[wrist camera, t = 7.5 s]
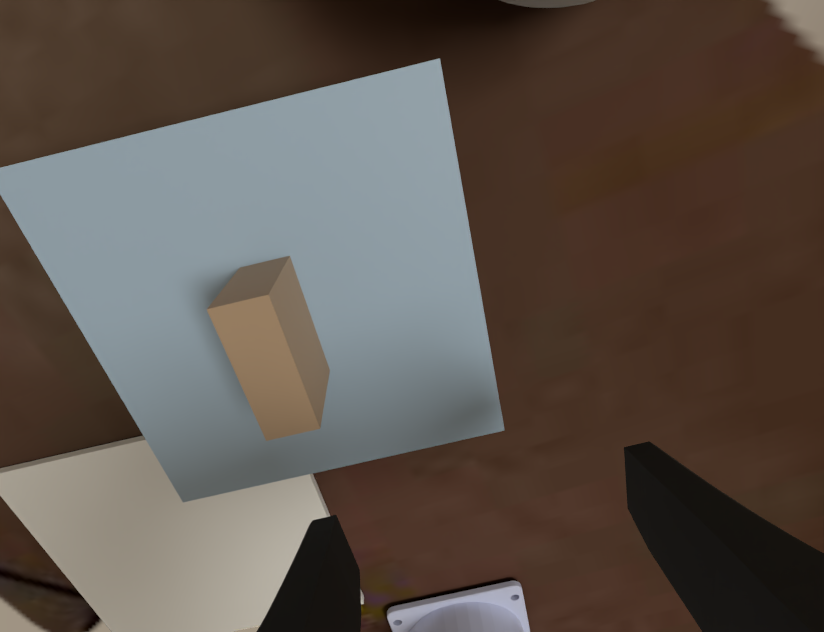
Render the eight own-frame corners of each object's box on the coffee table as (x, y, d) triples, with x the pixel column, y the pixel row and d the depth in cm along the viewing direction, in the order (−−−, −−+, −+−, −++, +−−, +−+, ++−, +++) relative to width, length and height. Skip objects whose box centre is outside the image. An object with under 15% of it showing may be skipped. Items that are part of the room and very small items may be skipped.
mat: (364, 596, 27) (363, 603, 27) (132, 646, 28) (129, 654, 27) (283, 402, 21) (281, 408, 21) (-9, 470, 22) (-16, 476, 21)
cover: (499, 416, 18) (529, 494, 14) (190, 486, 18) (146, 578, 15) (436, 60, 13) (458, 46, 9) (8, 167, 13) (-126, 191, 9)
